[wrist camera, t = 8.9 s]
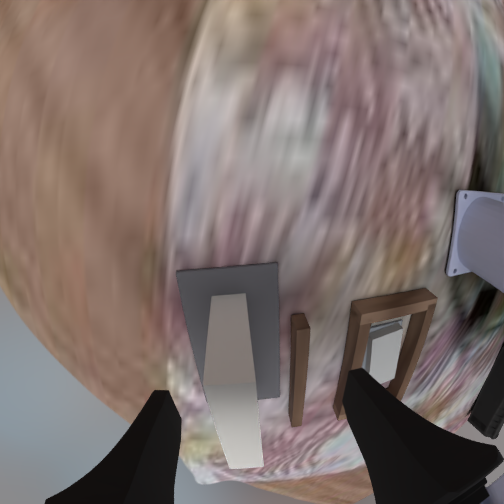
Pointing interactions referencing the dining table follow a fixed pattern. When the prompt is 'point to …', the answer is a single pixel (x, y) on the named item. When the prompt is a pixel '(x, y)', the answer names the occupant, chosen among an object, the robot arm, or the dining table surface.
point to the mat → (259, 314)
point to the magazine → (491, 402)
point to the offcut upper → (383, 352)
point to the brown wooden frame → (363, 344)
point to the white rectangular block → (232, 381)
